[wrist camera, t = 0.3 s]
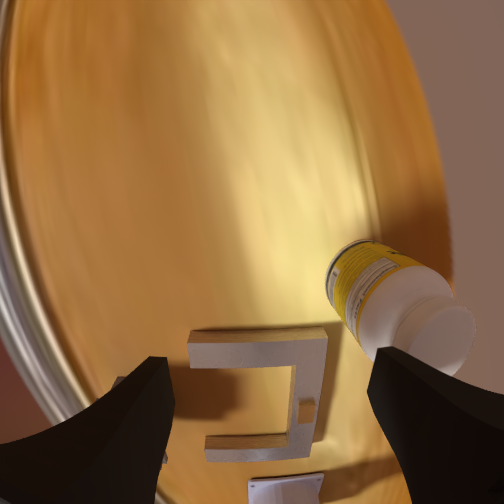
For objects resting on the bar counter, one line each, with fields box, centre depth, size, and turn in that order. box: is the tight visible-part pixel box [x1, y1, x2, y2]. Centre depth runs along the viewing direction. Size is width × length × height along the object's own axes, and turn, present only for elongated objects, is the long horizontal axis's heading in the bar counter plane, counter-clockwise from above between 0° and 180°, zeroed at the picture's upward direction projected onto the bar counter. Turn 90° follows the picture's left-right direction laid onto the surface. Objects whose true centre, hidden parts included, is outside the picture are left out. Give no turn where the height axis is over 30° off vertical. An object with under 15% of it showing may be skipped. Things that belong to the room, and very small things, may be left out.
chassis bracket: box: [187, 326, 328, 462], centre depth 21 cm, size 13×9×2 cm
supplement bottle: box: [325, 240, 476, 376], centre depth 15 cm, size 5×5×10 cm
